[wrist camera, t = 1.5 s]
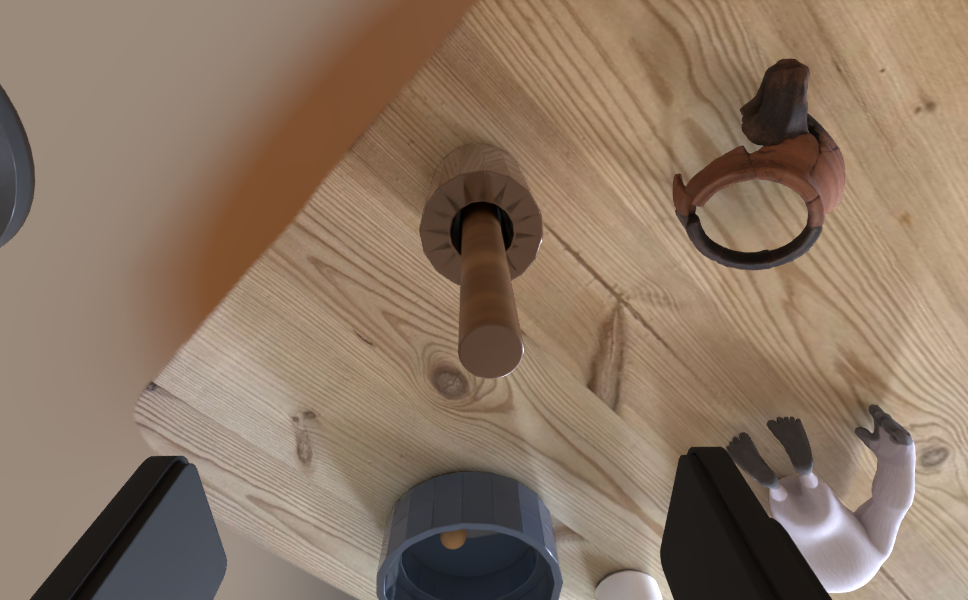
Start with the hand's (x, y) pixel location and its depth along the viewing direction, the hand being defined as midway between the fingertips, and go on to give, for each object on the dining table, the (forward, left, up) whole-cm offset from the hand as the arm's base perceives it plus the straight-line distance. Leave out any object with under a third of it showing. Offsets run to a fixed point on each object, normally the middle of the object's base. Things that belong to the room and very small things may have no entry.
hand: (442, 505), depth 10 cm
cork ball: (+26, -17, -25) cm, 39 cm away
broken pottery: (+8, +17, -27) cm, 32 cm away
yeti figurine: (+40, +11, -27) cm, 49 cm away
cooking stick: (+1, +1, -26) cm, 26 cm away
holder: (+1, +1, -26) cm, 26 cm away
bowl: (+28, -16, -26) cm, 41 cm away
